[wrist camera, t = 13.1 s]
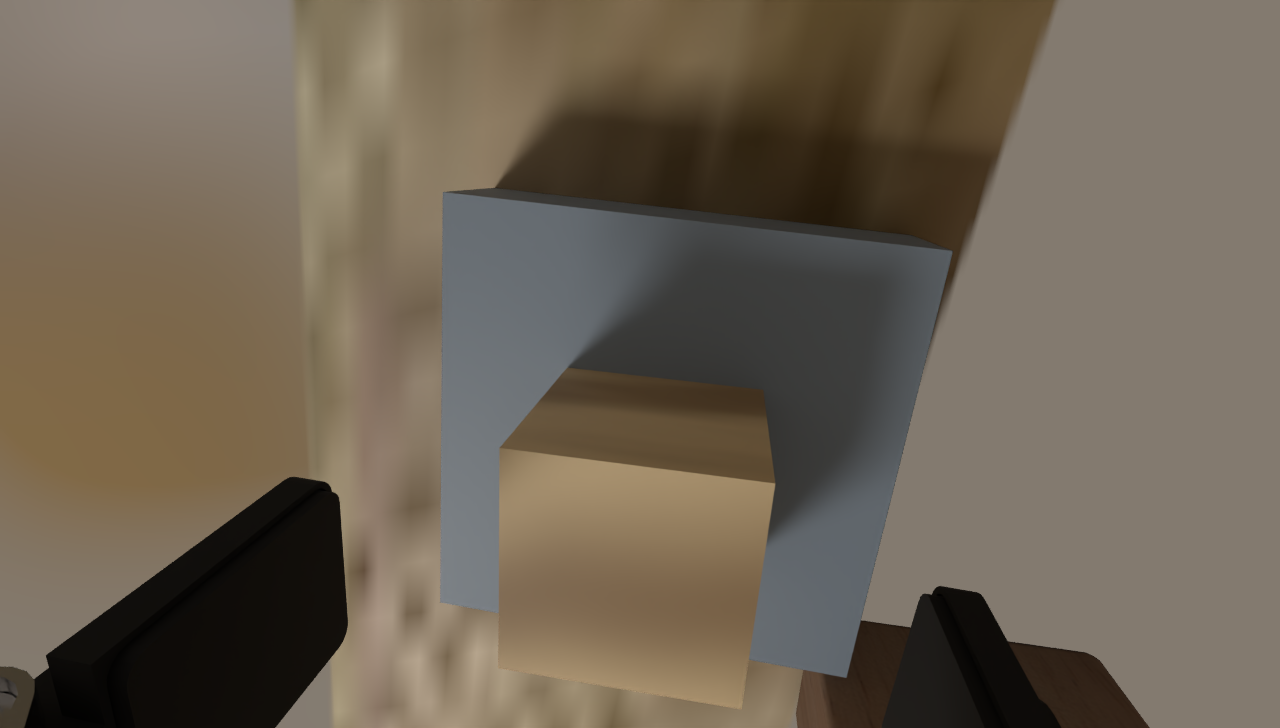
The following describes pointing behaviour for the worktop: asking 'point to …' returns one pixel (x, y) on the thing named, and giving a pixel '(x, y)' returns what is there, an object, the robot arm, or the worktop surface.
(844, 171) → the worktop surface
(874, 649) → the wooden block
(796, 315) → the slate base block
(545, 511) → the oak cube
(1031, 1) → the worktop surface
